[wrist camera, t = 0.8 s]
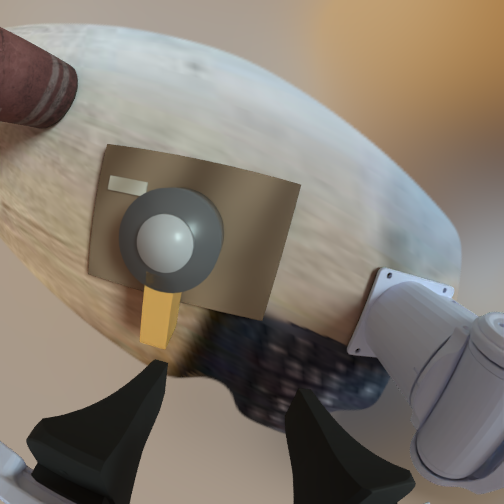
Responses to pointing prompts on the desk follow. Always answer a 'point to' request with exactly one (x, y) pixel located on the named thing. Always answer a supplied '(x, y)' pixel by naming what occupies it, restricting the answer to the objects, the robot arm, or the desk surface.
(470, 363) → the robot arm
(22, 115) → the can
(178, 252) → the toy saucepan
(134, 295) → the desk surface
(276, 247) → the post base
